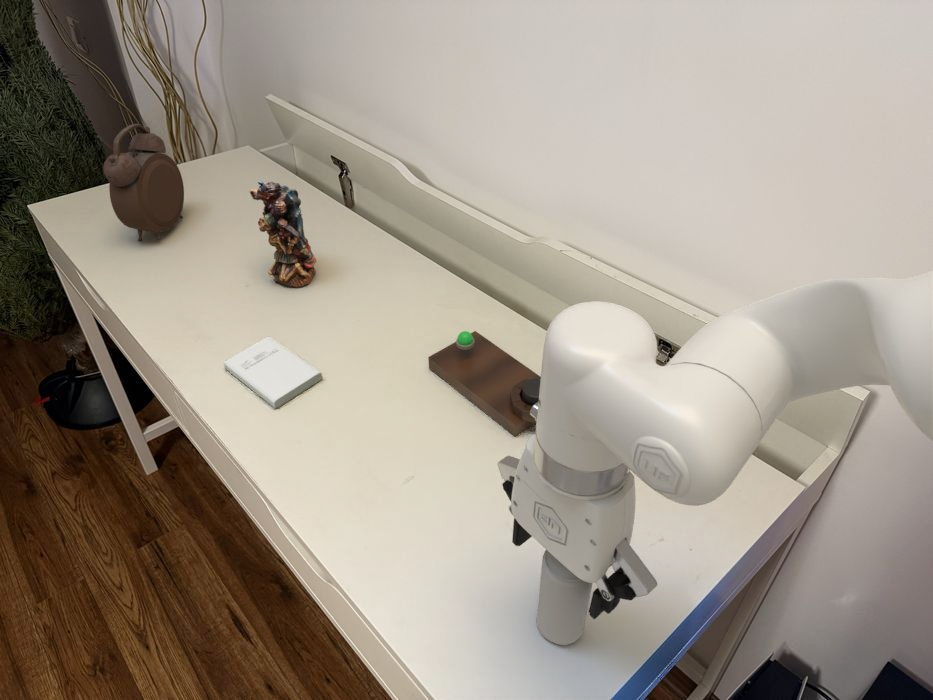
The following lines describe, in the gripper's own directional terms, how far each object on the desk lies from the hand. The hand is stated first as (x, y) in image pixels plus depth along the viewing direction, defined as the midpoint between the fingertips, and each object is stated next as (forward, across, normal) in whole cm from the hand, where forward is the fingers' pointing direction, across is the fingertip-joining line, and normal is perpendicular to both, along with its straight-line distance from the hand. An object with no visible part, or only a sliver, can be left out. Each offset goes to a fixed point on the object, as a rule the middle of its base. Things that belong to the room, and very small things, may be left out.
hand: (562, 570), depth 65 cm
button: (+6, -22, +19) cm, 30 cm away
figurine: (+11, -73, +11) cm, 74 cm away
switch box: (+10, -29, +19) cm, 36 cm away
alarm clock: (+12, -104, +1) cm, 104 cm away
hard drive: (+11, -53, -3) cm, 54 cm away
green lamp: (+6, -36, +19) cm, 41 cm away
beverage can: (+10, +1, 0) cm, 10 cm away
